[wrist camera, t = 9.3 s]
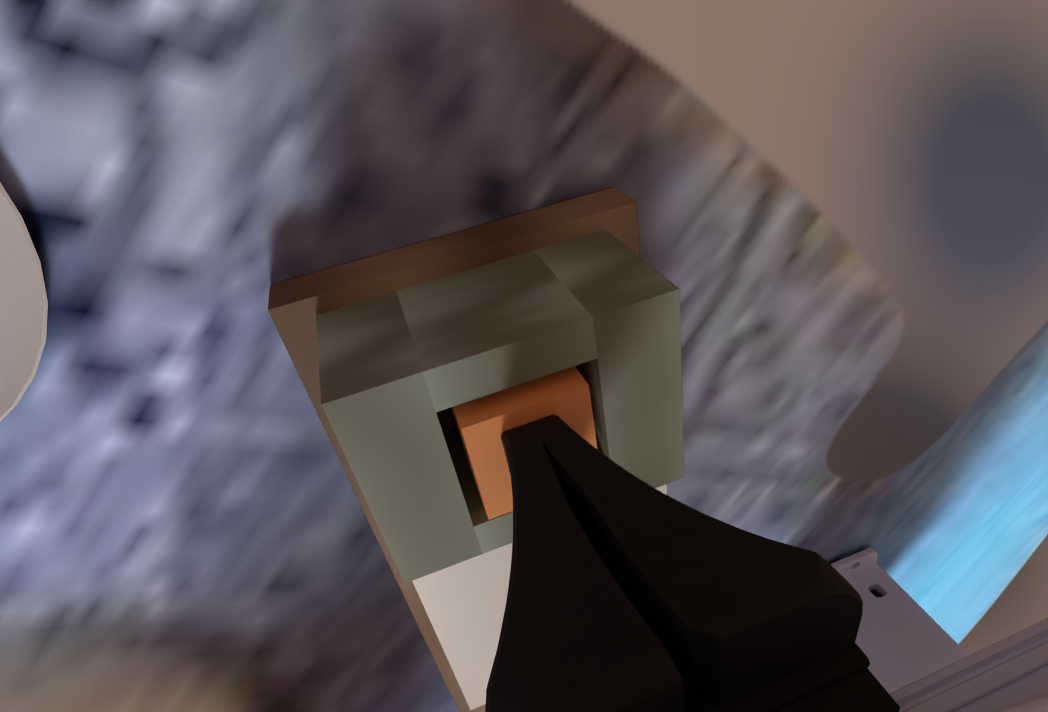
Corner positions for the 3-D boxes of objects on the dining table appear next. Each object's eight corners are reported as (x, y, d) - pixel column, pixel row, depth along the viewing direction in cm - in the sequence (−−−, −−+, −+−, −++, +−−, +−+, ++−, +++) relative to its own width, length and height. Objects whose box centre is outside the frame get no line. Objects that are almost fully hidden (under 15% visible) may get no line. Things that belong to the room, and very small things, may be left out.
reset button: (544, 324, 16) (589, 385, 14) (559, 409, 18) (601, 478, 15) (435, 359, 16) (461, 429, 13) (461, 443, 17) (488, 520, 15)
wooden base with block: (613, 187, 18) (719, 255, 13) (651, 635, 31) (710, 744, 27) (270, 285, 16) (260, 401, 12) (467, 713, 30) (497, 843, 25)
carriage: (635, 436, 20) (760, 603, 15) (647, 581, 24) (746, 750, 19) (399, 521, 19) (441, 740, 13) (458, 659, 23) (507, 863, 18)
